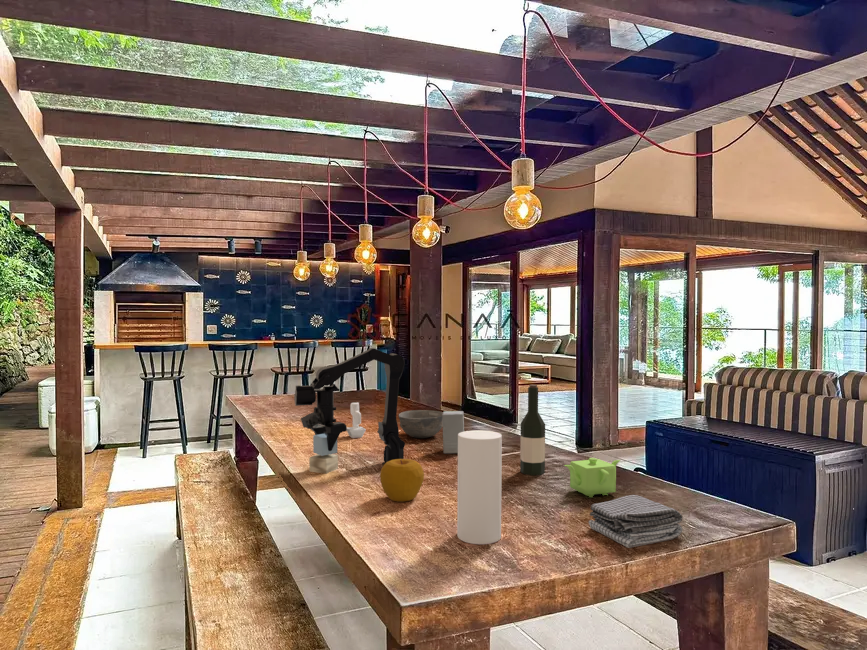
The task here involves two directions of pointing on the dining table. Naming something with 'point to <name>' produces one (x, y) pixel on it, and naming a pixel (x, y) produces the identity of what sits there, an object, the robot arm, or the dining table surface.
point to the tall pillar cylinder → (479, 486)
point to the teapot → (593, 476)
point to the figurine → (355, 422)
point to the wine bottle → (532, 437)
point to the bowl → (421, 423)
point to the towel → (635, 521)
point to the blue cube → (322, 445)
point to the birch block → (323, 463)
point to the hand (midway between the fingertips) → (325, 449)
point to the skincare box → (452, 430)
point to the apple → (401, 479)
